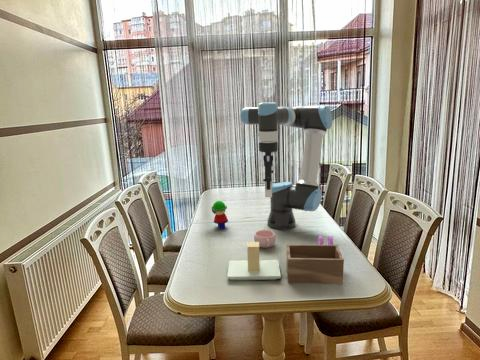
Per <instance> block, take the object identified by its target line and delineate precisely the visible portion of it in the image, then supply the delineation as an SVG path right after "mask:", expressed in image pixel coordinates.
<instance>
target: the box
mask: <svg viewBox="0 0 480 360" xmlns="http://www.w3.org/2000/svg"><path fill="white" fill-rule="evenodd" d="M344 262H345V259H344V257H343V253H342V252H341V250H340V248H339V246H338V244H333V245H328V244H323V245H318V244H302V243H301V244H296V243H295V244H293V243H291V244H290V243H289V244H287V243H286V277H287V283H288V284H289V283H294V284H334V285H335V284H338V285H341V284H344V268H345V267H344V265H345V263H344Z"/></svg>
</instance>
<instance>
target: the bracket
mask: <svg viewBox="0 0 480 360" xmlns="http://www.w3.org/2000/svg"><path fill="white" fill-rule="evenodd" d="M333 241H334V239H333V235H328V236H327V245H334V242H333ZM317 243H318V244H317V245H324V237H323V235H319V236H318V242H317Z"/></svg>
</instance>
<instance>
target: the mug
mask: <svg viewBox="0 0 480 360" xmlns="http://www.w3.org/2000/svg"><path fill="white" fill-rule="evenodd" d="M253 236H254V237H253V238H254V239H253V241H254V242H259V248H265V249H266V248H271V247H273V246H274V244H275V243H276V239H277V237H276V233H275V232H274V230H273V231H272V230H271V229H270V230H269V229H260V230H257V231H256V232H254V235H253Z"/></svg>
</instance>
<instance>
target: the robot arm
mask: <svg viewBox="0 0 480 360" xmlns="http://www.w3.org/2000/svg"><path fill="white" fill-rule="evenodd" d="M240 119H241V122H242V123H243V124H244V125H255V126H256V125H258V133H257V134H256V136H258V141H259V142H258V151H259V153H265V155H263V157H262V158H263V167H264V179H262V181H263V182H264V197H265V198H270V200H269V201H270V212H269V215H268V218H267V226H268V227H269V228H271V229H273V230H274V229H275V230H290V229H293V228H295V226H296V223H297V222H296V218H295V214H294V212H293V210H300V211H305V212H315V211H317V210H318V208H319V206H320V205H321V202H322V200H323V199H322V197H323V195H322V194H323V192H322V190H321V189H320V188H319V187H320V185H319V184H318V182H317V181H318V176H319V174H318V173H319V165H320V159H321V152H322V145H323V139H324V138H323V137H324V136H325V135H326V134H327V133H328V130H330V129H331V128H332V126H333V115H332V111H331V108H330V107H329V106H328V105H320V104H319V105H297V106H290V107H287V106H283V105H282V106H281V105H280V106H278V104H277V102H260V103H258V106H253V107H251V106H248V107H243V108H242V110H241V111H240ZM278 126H284V127H290V128H297V129H303V132H304V133H305V139H304V145H303V153H302V160H301V165H300V166H301V167H300V174H299V180H298V181H297V182H295V185H293V182H291V181H283V182H282V181H280V182H277V183H273V174H274V170H273V169H272V167H273V166H274V164H273V163H274V162H273V161H274V155H273V154H272V153H275V152H278V149H279V148H278V147H279V146H278V142H277V141H278V139H279V136H278V133H279V131H278Z"/></svg>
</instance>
